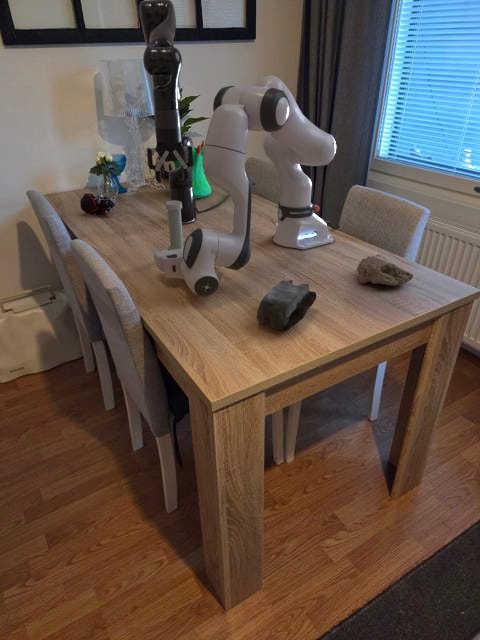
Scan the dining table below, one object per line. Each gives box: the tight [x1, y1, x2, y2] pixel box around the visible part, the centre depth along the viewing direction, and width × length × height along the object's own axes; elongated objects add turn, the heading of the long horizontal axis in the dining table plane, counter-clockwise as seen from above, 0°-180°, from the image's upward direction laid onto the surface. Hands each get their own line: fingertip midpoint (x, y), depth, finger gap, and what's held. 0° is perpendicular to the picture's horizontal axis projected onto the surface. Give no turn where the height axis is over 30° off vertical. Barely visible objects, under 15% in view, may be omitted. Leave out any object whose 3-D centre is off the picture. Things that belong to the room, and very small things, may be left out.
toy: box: [79, 192, 117, 218], centre depth 189 cm, size 12×9×15 cm
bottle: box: [167, 209, 184, 250], centre depth 149 cm, size 4×4×18 cm
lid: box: [165, 200, 182, 211], centre depth 144 cm, size 5×5×2 cm
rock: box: [256, 279, 317, 332], centre depth 117 cm, size 18×11×8 cm, turn 152°
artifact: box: [356, 254, 414, 286], centre depth 138 cm, size 18×7×15 cm
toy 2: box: [168, 137, 212, 200], centre depth 210 cm, size 20×20×25 cm
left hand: (172, 181), depth 140 cm, fingers open, 7 cm apart
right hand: (181, 247), depth 145 cm, fingers open, 8 cm apart
